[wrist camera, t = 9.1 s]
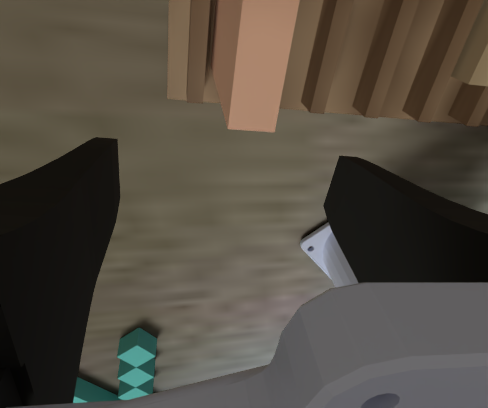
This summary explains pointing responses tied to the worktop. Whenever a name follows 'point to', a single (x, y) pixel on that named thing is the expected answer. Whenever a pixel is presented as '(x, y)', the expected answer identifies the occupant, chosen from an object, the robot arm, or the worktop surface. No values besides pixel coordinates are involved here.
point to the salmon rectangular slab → (252, 59)
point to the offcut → (475, 52)
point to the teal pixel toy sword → (126, 371)
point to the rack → (349, 58)
